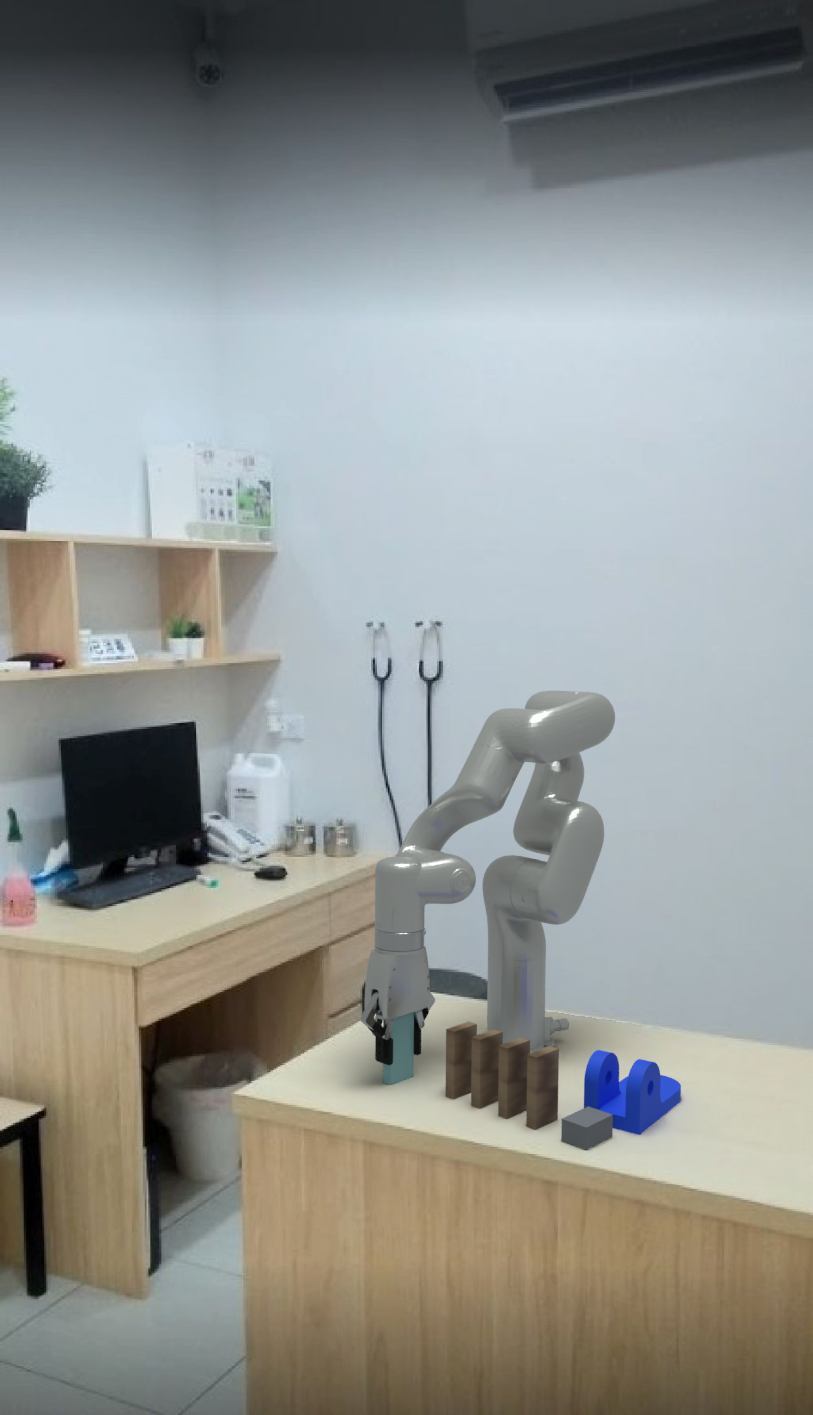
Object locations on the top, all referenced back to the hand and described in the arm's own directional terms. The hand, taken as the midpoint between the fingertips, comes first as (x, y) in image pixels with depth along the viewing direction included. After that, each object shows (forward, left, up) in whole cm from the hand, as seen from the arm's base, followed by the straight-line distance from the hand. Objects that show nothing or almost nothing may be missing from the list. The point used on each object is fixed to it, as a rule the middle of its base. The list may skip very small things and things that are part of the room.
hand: (398, 1056), depth 173 cm
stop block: (-12, +31, -3) cm, 33 cm away
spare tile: (0, 0, -3) cm, 3 cm away
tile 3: (-7, +14, -3) cm, 16 cm away
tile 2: (-6, +9, -3) cm, 11 cm away
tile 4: (-9, +19, -3) cm, 21 cm away
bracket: (-26, +25, -4) cm, 36 cm away
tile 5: (-10, +23, -3) cm, 26 cm away
